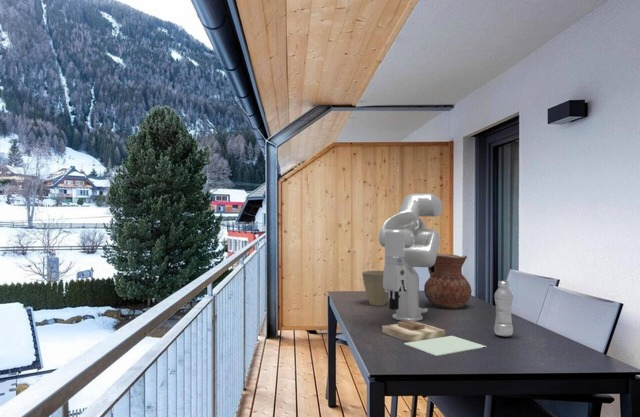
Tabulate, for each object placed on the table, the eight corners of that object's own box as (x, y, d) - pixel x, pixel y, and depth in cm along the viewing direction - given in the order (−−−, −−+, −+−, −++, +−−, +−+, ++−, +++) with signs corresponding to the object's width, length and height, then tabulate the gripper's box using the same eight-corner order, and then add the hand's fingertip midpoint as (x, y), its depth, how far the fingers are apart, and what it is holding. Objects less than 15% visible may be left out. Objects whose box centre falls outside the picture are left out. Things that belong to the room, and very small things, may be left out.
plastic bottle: (512, 334, 177) (512, 280, 178) (513, 339, 171) (513, 282, 171) (494, 333, 179) (493, 279, 180) (494, 337, 173) (494, 282, 173)
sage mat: (451, 336, 174) (451, 335, 174) (486, 347, 160) (486, 346, 160) (403, 344, 164) (403, 343, 164) (436, 356, 150) (436, 355, 150)
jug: (476, 305, 236) (476, 254, 236) (464, 312, 218) (464, 257, 218) (432, 300, 247) (432, 252, 248) (417, 307, 230) (417, 254, 230)
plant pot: (371, 300, 246) (371, 269, 247) (397, 304, 238) (397, 271, 238) (356, 305, 234) (356, 272, 235) (383, 308, 226) (383, 274, 226)
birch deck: (415, 327, 188) (415, 321, 188) (444, 337, 173) (444, 330, 174) (382, 332, 180) (382, 325, 180) (409, 342, 166) (409, 335, 166)
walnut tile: (410, 324, 183) (410, 320, 183) (424, 328, 176) (424, 324, 176) (398, 326, 180) (398, 322, 180) (411, 330, 173) (411, 326, 173)
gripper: (414, 262, 182) (414, 311, 181) (390, 260, 195) (390, 305, 194) (398, 263, 178) (398, 313, 177) (375, 260, 191) (374, 306, 190)
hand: (393, 309), depth 186 cm, fingers closed
